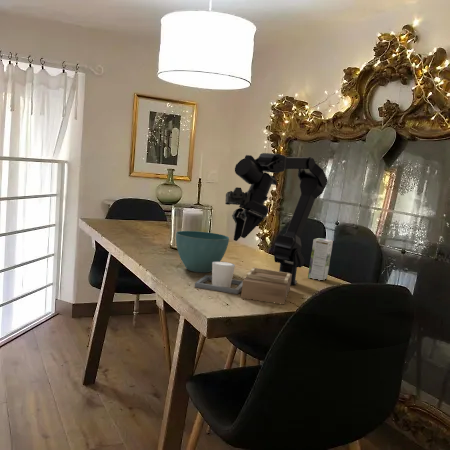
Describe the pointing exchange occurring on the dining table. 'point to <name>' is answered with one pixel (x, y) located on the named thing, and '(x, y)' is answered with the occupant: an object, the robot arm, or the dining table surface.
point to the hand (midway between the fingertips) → (238, 239)
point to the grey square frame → (219, 288)
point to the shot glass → (222, 273)
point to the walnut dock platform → (266, 285)
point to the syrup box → (320, 259)
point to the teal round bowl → (200, 249)
